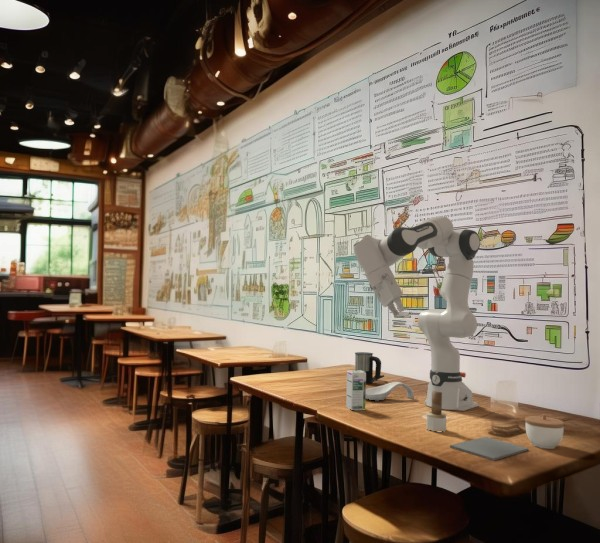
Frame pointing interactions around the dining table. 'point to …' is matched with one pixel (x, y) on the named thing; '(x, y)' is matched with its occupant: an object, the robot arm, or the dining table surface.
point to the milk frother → (368, 365)
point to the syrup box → (356, 390)
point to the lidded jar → (544, 431)
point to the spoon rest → (386, 391)
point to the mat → (489, 448)
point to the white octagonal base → (436, 424)
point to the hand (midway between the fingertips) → (399, 313)
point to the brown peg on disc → (436, 406)
